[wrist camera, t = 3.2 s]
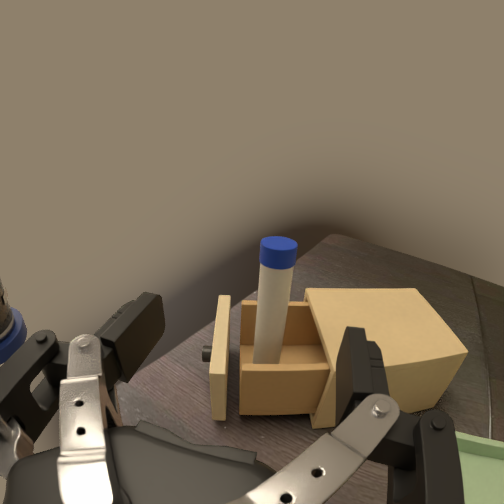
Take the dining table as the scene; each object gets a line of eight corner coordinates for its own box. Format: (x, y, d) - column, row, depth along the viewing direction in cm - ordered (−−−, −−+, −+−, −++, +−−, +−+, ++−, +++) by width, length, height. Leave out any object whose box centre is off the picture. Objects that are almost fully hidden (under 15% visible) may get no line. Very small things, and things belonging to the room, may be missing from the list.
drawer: (199, 419, 23) (193, 371, 20) (209, 341, 33) (207, 294, 30) (354, 415, 23) (377, 368, 21) (330, 343, 34) (341, 297, 31)
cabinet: (312, 429, 23) (334, 371, 20) (295, 345, 34) (305, 287, 31) (433, 407, 24) (468, 351, 20) (395, 340, 35) (415, 288, 32)
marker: (259, 385, 26) (273, 252, 20) (245, 367, 28) (254, 238, 23) (283, 376, 27) (305, 246, 22) (269, 359, 29) (284, 234, 24)
